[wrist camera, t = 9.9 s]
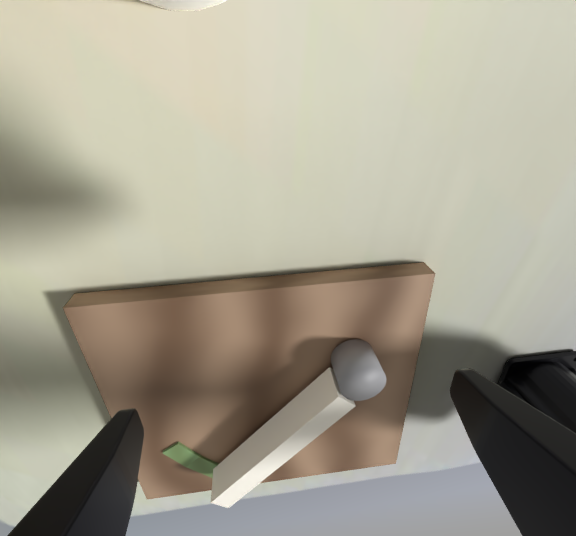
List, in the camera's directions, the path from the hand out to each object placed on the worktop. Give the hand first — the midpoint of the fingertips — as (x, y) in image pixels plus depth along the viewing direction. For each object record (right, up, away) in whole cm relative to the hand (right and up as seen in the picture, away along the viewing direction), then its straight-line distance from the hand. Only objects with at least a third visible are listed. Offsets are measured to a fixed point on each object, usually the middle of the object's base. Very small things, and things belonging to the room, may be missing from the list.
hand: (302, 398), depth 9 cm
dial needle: (0, -7, +16) cm, 17 cm away
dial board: (-2, -6, +17) cm, 18 cm away
